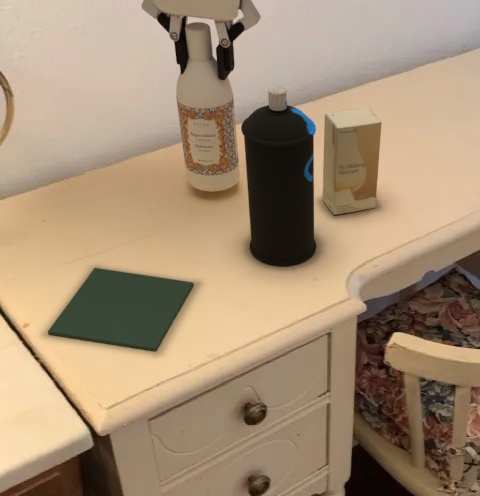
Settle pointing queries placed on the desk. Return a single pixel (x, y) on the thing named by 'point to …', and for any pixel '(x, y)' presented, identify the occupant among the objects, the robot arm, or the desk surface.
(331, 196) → the cosmetic box
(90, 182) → the desk surface
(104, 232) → the desk surface
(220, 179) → the bath foam
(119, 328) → the mat
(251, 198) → the aerosol can
